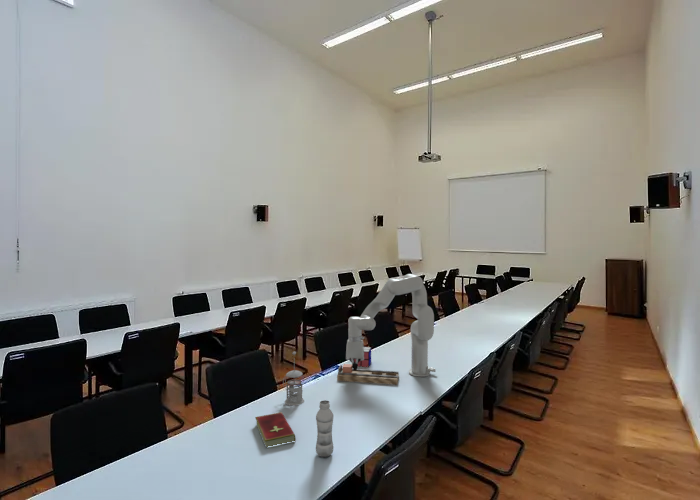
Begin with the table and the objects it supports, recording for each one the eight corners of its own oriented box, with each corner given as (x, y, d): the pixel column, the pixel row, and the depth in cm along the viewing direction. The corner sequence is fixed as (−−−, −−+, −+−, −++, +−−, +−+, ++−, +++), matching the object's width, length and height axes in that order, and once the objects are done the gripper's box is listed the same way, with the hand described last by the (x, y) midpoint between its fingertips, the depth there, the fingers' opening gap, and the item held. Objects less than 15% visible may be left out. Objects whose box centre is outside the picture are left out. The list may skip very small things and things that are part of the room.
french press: (295, 407, 184) (295, 355, 183) (277, 401, 190) (277, 351, 189) (308, 399, 192) (308, 350, 191) (290, 394, 199) (290, 347, 198)
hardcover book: (282, 420, 172) (282, 411, 172) (295, 443, 153) (295, 433, 153) (255, 425, 167) (255, 416, 167) (265, 450, 148) (265, 439, 148)
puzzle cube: (368, 367, 240) (368, 351, 239) (353, 366, 242) (353, 350, 241) (371, 362, 250) (371, 347, 249) (356, 361, 252) (356, 346, 251)
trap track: (398, 376, 224) (398, 366, 223) (397, 384, 212) (397, 374, 212) (341, 373, 230) (341, 363, 229) (337, 380, 218) (337, 370, 218)
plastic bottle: (315, 450, 147) (315, 398, 146) (333, 449, 148) (333, 398, 147) (315, 460, 141) (315, 406, 140) (334, 459, 141) (333, 405, 140)
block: (352, 371, 225) (352, 364, 225) (351, 374, 220) (351, 367, 220) (343, 370, 225) (343, 364, 225) (342, 373, 220) (342, 366, 220)
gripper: (368, 337, 224) (368, 368, 224) (343, 336, 226) (343, 366, 227) (366, 340, 216) (367, 372, 217) (341, 339, 219) (341, 371, 220)
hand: (355, 369), depth 222 cm, fingers closed
